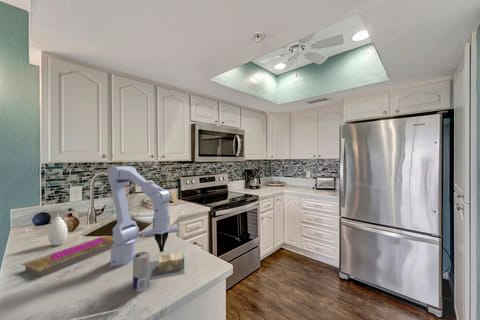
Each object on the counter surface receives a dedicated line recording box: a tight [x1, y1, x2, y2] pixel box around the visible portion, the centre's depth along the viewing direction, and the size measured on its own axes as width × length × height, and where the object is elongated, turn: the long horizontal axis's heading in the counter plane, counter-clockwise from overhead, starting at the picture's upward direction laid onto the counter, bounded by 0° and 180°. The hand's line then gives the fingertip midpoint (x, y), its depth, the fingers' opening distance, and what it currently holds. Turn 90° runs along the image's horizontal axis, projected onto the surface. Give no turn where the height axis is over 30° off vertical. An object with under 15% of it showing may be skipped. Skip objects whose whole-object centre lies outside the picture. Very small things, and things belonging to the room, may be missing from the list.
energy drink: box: [132, 251, 151, 293], centre depth 70 cm, size 5×5×12 cm
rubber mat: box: [150, 260, 186, 281], centre depth 83 cm, size 18×15×1 cm
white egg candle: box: [47, 212, 69, 246], centre depth 109 cm, size 8×8×18 cm
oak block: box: [158, 251, 185, 272], centre depth 84 cm, size 4×6×10 cm
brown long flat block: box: [21, 235, 114, 278], centre depth 96 cm, size 35×14×6 cm, turn 157°
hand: (161, 250), depth 83 cm, fingers closed
